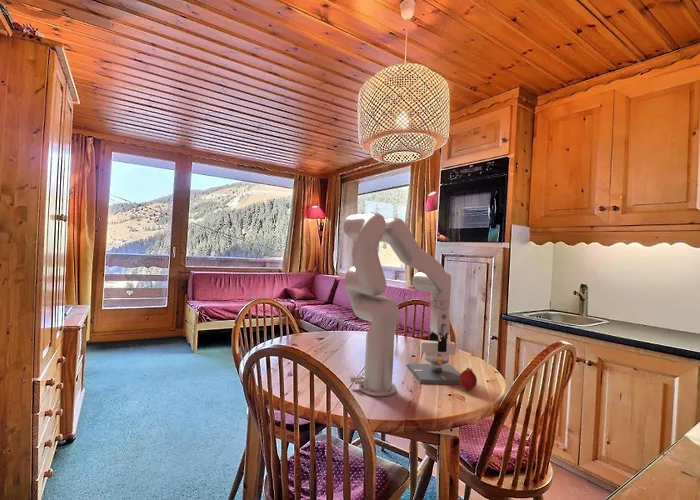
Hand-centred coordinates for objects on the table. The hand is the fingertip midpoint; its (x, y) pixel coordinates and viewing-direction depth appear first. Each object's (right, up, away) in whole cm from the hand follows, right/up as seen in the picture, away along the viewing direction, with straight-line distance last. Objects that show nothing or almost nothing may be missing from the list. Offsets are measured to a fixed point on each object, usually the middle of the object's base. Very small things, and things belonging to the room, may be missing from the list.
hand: (437, 348), depth 139 cm
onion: (+7, -11, -14) cm, 19 cm away
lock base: (-1, -11, 0) cm, 10 cm away
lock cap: (0, -5, -1) cm, 5 cm away
